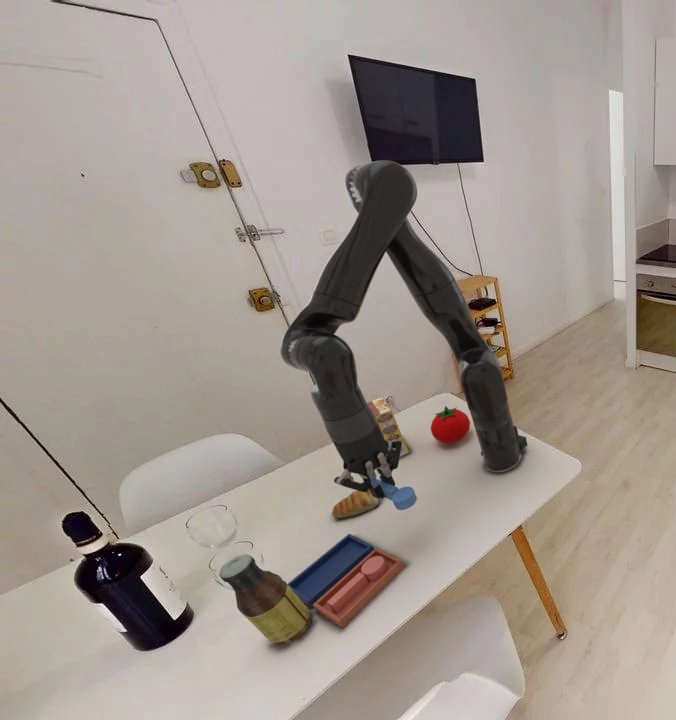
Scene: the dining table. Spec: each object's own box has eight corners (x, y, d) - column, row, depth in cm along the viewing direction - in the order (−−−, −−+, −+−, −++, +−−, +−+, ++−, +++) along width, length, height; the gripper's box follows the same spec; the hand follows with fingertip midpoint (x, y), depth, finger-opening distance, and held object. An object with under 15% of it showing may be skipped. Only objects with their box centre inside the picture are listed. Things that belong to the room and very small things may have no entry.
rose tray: (379, 553, 88) (376, 547, 87) (404, 566, 85) (401, 560, 84) (316, 611, 77) (312, 605, 76) (342, 628, 75) (338, 622, 74)
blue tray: (352, 539, 91) (349, 533, 90) (375, 551, 88) (372, 545, 87) (288, 592, 81) (283, 586, 80) (312, 608, 78) (307, 602, 77)
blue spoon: (368, 497, 85) (364, 488, 83) (385, 483, 88) (381, 475, 87) (404, 512, 81) (400, 503, 80) (421, 497, 84) (417, 489, 83)
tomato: (436, 454, 115) (426, 426, 110) (435, 433, 123) (425, 406, 118) (475, 443, 118) (466, 415, 113) (471, 423, 127) (463, 397, 122)
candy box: (410, 453, 116) (392, 409, 108) (394, 460, 113) (374, 416, 106) (400, 438, 121) (382, 396, 114) (384, 445, 119) (365, 402, 111)
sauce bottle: (286, 613, 77) (232, 545, 67) (321, 609, 78) (272, 542, 68) (261, 651, 72) (198, 584, 62) (299, 647, 72) (241, 580, 62)
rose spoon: (341, 615, 76) (336, 608, 75) (328, 607, 77) (322, 599, 76) (391, 567, 84) (387, 559, 83) (378, 560, 86) (374, 552, 85)
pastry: (336, 526, 94) (329, 515, 92) (333, 508, 99) (326, 497, 97) (381, 505, 99) (375, 494, 97) (376, 489, 104) (371, 478, 102)
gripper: (373, 404, 83) (401, 466, 92) (303, 446, 73) (342, 512, 81) (399, 412, 81) (425, 475, 89) (330, 457, 70) (367, 524, 78)
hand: (385, 493), depth 85 cm, fingers closed on blue spoon, 1 cm apart
